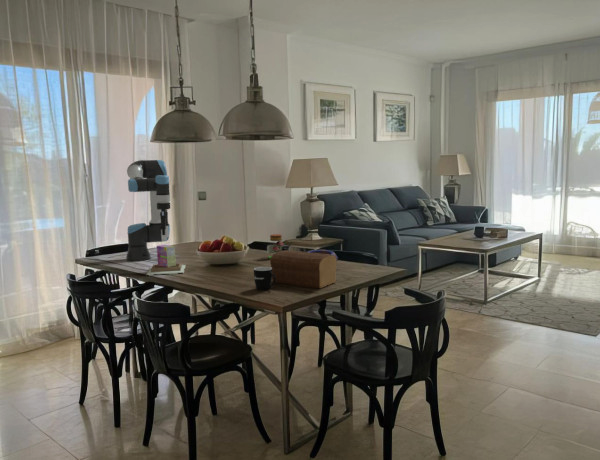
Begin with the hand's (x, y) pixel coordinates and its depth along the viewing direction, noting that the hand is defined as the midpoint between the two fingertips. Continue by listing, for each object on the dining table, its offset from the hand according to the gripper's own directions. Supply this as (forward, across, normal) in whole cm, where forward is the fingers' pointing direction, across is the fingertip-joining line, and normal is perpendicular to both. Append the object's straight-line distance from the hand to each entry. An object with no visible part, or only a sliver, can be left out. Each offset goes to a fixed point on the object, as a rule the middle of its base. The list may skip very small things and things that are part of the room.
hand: (165, 238), depth 301 cm
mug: (+18, +60, +52) cm, 81 cm away
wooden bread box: (+18, +50, +73) cm, 90 cm away
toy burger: (+19, -25, +68) cm, 75 cm away
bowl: (+18, +18, +88) cm, 92 cm away
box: (+16, +1, 0) cm, 16 cm away
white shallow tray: (+19, +1, 0) cm, 19 cm away
